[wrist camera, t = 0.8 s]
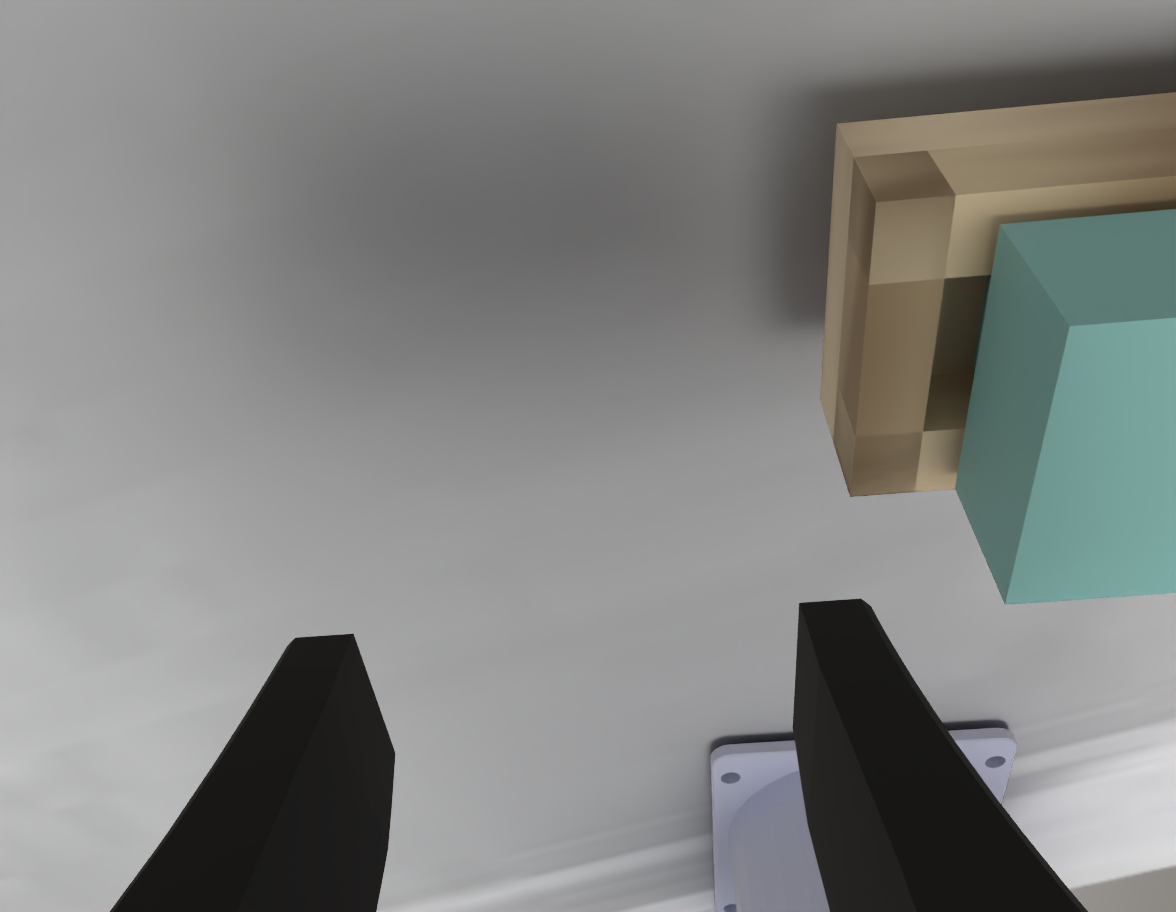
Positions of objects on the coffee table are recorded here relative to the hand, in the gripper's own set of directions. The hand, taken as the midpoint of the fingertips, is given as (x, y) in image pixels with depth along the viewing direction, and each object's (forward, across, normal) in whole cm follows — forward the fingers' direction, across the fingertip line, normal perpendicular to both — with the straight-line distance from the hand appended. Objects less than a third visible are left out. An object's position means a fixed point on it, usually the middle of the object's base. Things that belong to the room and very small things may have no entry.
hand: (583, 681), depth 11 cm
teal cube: (+6, -7, 0) cm, 10 cm away
